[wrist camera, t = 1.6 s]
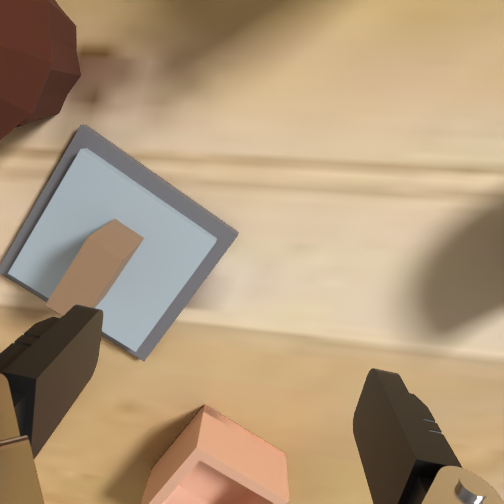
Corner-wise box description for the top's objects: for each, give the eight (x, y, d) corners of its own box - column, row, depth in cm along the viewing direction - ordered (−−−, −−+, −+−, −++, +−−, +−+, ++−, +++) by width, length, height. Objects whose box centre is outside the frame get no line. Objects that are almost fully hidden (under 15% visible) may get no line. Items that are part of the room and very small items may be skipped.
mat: (3, 267, 30) (-4, 271, 29) (85, 124, 27) (80, 124, 26) (146, 355, 32) (143, 361, 31) (238, 232, 29) (237, 235, 28)
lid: (16, 268, 29) (-37, 300, 24) (87, 147, 26) (45, 154, 21) (139, 344, 30) (115, 390, 25) (217, 238, 28) (207, 264, 23)
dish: (151, 469, 35) (136, 518, 31) (204, 404, 33) (196, 447, 29) (229, 513, 36) (225, 566, 32) (285, 453, 34) (289, 501, 30)
